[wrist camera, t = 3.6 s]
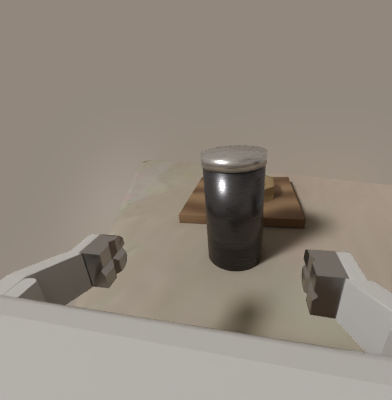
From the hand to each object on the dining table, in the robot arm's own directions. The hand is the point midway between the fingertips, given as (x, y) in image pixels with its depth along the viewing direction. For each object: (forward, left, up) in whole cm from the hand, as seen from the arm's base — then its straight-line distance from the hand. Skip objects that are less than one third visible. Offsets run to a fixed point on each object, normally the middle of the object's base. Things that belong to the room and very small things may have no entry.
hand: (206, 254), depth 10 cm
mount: (-19, -18, -9) cm, 28 cm away
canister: (-9, -9, -9) cm, 15 cm away
